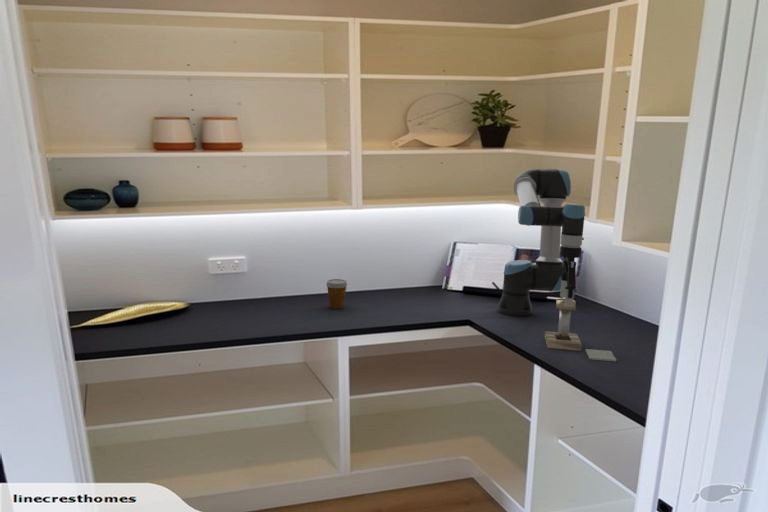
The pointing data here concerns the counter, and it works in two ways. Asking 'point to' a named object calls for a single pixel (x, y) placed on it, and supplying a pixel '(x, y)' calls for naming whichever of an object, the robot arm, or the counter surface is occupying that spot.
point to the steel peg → (564, 318)
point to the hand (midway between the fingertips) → (566, 301)
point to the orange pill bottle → (336, 292)
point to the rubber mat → (600, 355)
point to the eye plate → (563, 341)
